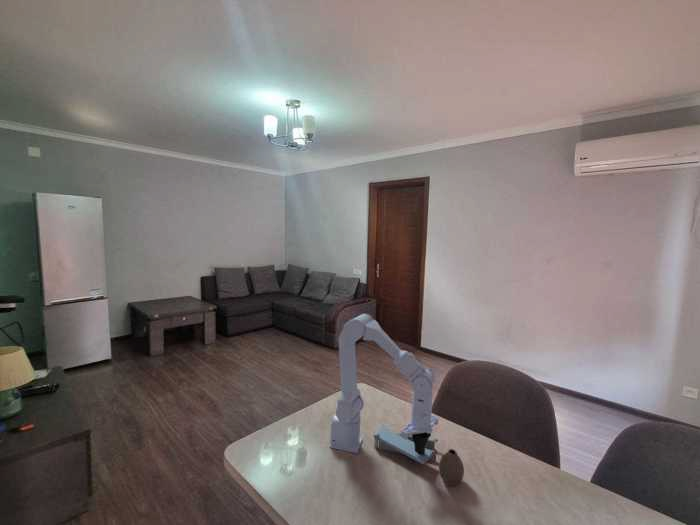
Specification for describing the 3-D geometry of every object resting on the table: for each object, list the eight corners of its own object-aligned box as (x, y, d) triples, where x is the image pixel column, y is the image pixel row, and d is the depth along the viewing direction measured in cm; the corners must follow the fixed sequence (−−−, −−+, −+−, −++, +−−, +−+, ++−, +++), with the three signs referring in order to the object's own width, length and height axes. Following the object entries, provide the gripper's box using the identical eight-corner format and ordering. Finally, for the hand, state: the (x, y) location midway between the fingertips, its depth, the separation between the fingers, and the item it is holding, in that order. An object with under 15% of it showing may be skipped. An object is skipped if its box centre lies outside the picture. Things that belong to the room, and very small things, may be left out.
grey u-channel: (373, 447, 104) (374, 437, 104) (377, 436, 111) (377, 426, 110) (436, 461, 99) (437, 450, 99) (436, 448, 105) (437, 437, 105)
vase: (464, 492, 88) (466, 462, 87) (438, 486, 89) (440, 457, 88) (461, 474, 94) (463, 446, 94) (437, 469, 96) (439, 442, 95)
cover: (372, 438, 105) (372, 428, 104) (383, 429, 110) (384, 420, 109) (422, 465, 93) (423, 454, 93) (432, 454, 98) (433, 444, 98)
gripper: (415, 424, 87) (411, 470, 88) (447, 409, 96) (444, 451, 97) (397, 412, 93) (394, 455, 94) (429, 399, 101) (426, 439, 103)
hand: (418, 452), depth 96 cm, fingers closed
